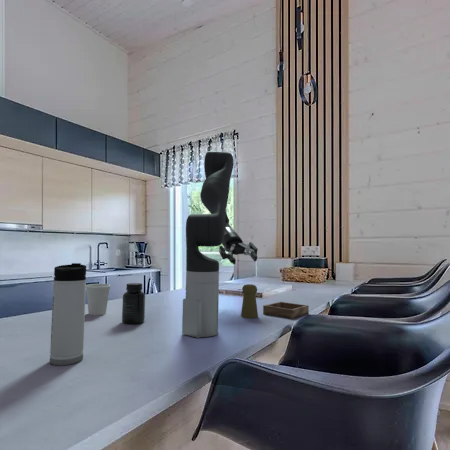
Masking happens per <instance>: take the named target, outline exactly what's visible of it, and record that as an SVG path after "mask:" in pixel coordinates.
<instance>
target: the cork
mask: <svg viewBox="0 0 450 450" xmlns="http://www.w3.org/2000/svg"><path fill="white" fill-rule="evenodd" d="M241 290H242V293H243V296H242V306H241V313H240V317H241V318H243V319H257V318H258V317H259V314H258V304H257V303H258V302H257V296H256V294H257V293H258V287H257V285H255V284H252V283H251V284H249V283H248V284H244V285H243V286H242V288H241Z"/></svg>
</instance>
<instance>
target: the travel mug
mask: <svg viewBox="0 0 450 450" xmlns="http://www.w3.org/2000/svg"><path fill="white" fill-rule="evenodd" d="M53 271H54V272H53V275H54V277H53V288H52V289H53V290H52V307H51V325H50V326H51V329H50V351H49V353H50V355H49V362H50V364H51V365H54V366H69V365H75V364H77V363H80V362H81V361H82V360H83V359H84V345H85V344H84V341H85V340H84V339H85V337H84V336H85V319H86V317H85V316H86V315H85V312H86V296H87V290H86V285H87V283H86V282H87V277H86V276H87V265H85V264H82V263H81V262H80V263H78V262H72V263H71V264H63V265H62V264H61V265H57V266H55V267H54V270H53Z"/></svg>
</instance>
